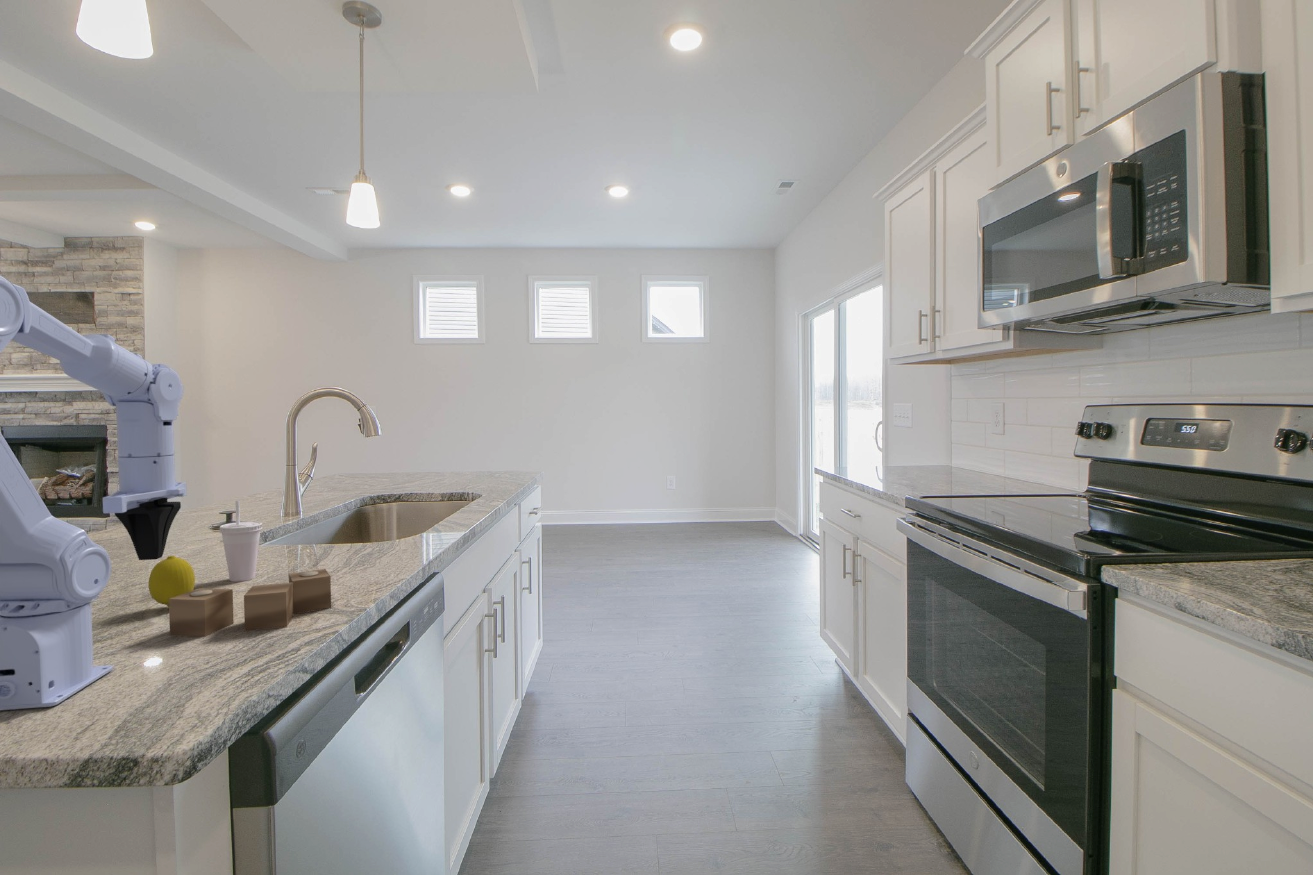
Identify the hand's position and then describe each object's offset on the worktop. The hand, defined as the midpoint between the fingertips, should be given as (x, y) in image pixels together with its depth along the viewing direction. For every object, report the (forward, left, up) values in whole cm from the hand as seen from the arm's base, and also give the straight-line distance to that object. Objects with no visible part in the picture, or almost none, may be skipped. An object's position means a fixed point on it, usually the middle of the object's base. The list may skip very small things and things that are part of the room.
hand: (150, 558), depth 82 cm
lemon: (+13, +4, -11) cm, 17 cm away
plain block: (+3, -13, -11) cm, 17 cm away
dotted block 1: (+2, -5, -11) cm, 12 cm away
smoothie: (+29, +1, -11) cm, 31 cm away
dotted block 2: (+10, -16, -11) cm, 22 cm away
